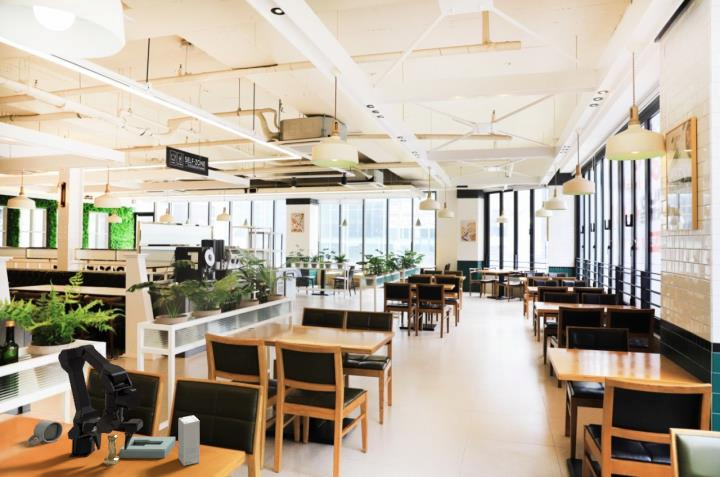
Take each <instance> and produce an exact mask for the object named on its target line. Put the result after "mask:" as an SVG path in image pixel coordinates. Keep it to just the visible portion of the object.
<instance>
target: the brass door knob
mask: <svg viewBox="0 0 720 477" xmlns="http://www.w3.org/2000/svg"><path fill="white" fill-rule="evenodd" d="M118 436H119V434H116V433H113V434H108V435H107V440H108V448H107V450H108V451H107V452H108V455H107V456H105V458H104V459H103V464H104V466H107V467H110V466H115V465H118V464H119V463H120V455H116V454H117V453H116V452H117V439H118Z"/></svg>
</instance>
